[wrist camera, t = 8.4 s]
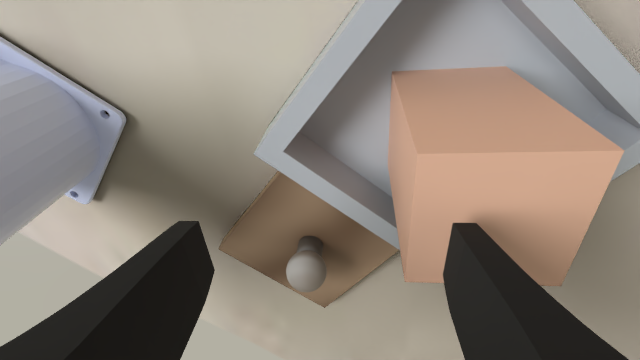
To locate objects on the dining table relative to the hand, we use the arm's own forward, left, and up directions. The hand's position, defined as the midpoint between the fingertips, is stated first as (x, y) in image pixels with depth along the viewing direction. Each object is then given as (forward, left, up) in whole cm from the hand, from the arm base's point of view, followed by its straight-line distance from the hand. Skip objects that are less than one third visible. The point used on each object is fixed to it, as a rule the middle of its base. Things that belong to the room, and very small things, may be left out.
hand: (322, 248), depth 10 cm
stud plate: (+4, -8, -10) cm, 13 cm away
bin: (+4, +3, -10) cm, 11 cm away
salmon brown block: (+4, +3, -9) cm, 10 cm away
